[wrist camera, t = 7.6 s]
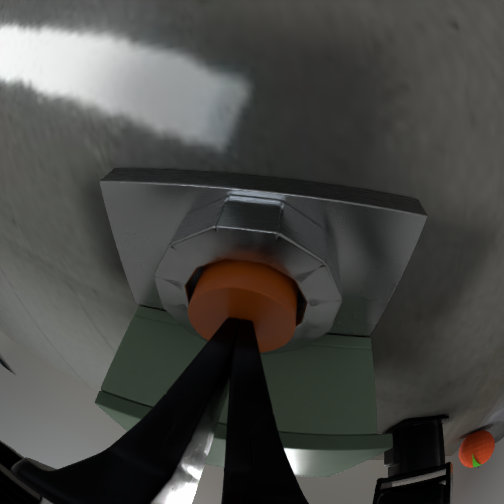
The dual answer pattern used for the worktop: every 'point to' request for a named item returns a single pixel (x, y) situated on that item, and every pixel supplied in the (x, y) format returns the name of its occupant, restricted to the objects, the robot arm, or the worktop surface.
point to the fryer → (275, 368)
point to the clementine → (476, 449)
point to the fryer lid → (295, 445)
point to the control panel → (263, 241)
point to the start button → (245, 301)
